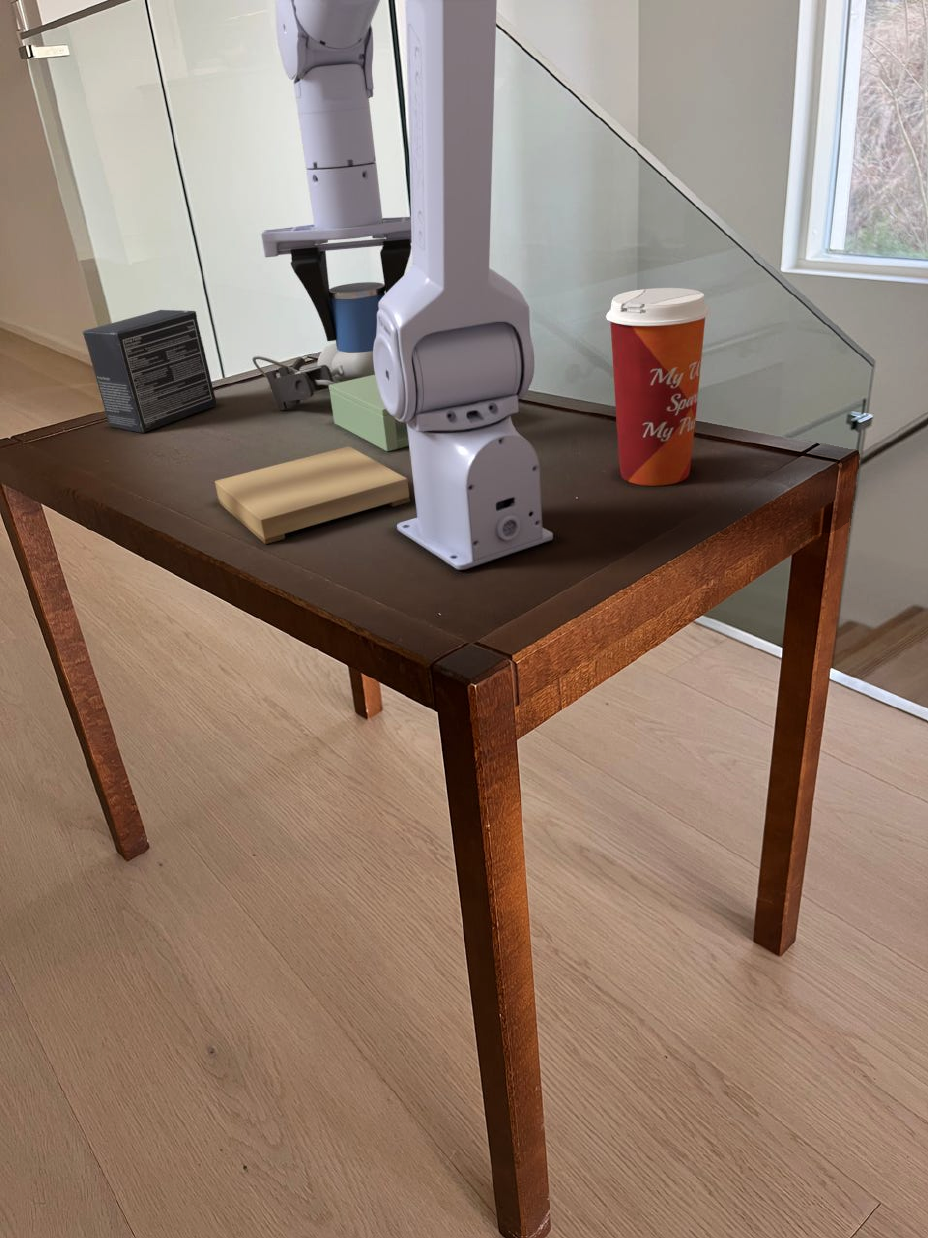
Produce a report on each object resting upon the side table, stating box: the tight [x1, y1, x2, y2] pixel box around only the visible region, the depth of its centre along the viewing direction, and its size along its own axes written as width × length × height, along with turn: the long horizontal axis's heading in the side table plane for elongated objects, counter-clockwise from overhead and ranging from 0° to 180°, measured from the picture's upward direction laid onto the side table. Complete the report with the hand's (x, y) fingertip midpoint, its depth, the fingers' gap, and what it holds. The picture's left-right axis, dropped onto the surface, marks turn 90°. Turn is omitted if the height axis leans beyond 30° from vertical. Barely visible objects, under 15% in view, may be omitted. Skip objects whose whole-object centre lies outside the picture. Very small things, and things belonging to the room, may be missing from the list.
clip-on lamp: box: [251, 343, 375, 411], centre depth 106 cm, size 12×6×18 cm
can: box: [328, 281, 386, 353], centre depth 83 cm, size 5×5×5 cm
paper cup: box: [605, 287, 711, 487], centre depth 74 cm, size 8×8×14 cm
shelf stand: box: [328, 375, 409, 452], centre depth 94 cm, size 12×12×4 cm
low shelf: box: [214, 445, 411, 545], centre depth 78 cm, size 11×12×2 cm
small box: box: [82, 309, 218, 434], centre depth 102 cm, size 11×6×10 cm, turn 144°
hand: (363, 335), depth 84 cm, fingers closed on can, 5 cm apart
